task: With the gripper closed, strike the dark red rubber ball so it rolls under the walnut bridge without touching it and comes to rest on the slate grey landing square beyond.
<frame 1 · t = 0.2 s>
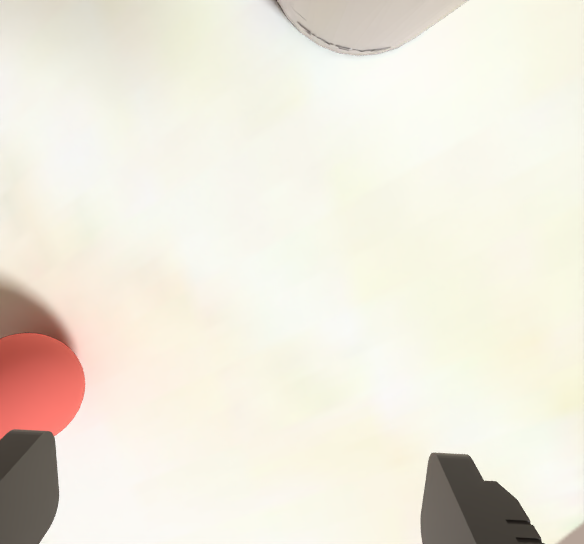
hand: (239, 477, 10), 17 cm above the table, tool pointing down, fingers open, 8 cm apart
ball: (24, 389, 26), on the table
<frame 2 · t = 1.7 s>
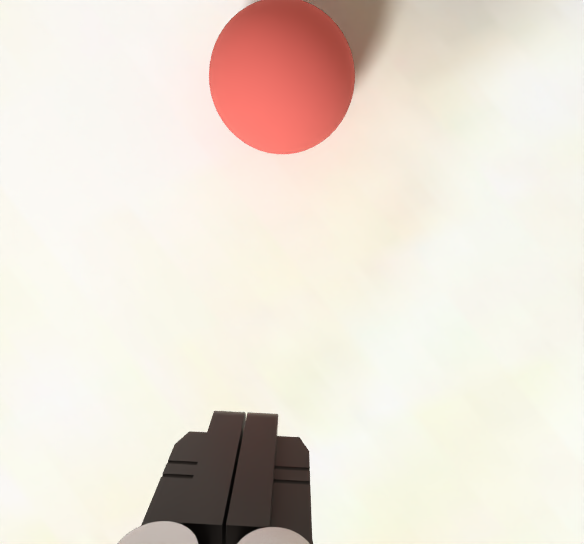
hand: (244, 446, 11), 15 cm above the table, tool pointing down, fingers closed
ball: (282, 80, 20), on the table
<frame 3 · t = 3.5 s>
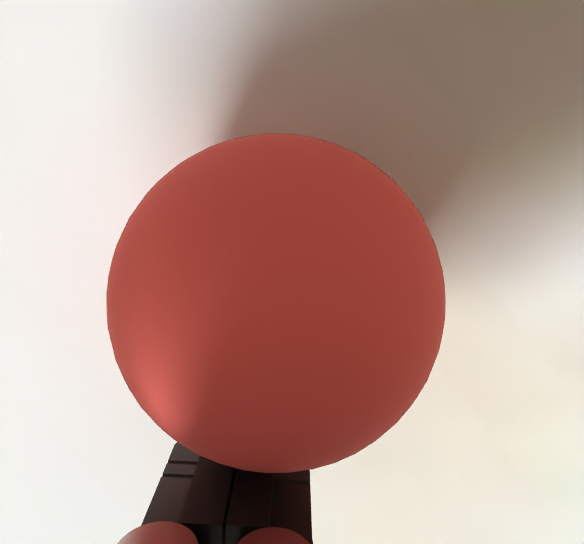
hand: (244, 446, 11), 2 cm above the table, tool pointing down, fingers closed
ball: (277, 300, 9), on the table, touching gripper
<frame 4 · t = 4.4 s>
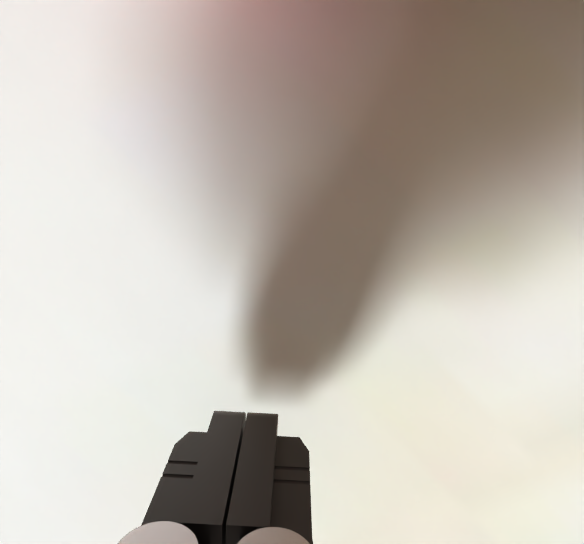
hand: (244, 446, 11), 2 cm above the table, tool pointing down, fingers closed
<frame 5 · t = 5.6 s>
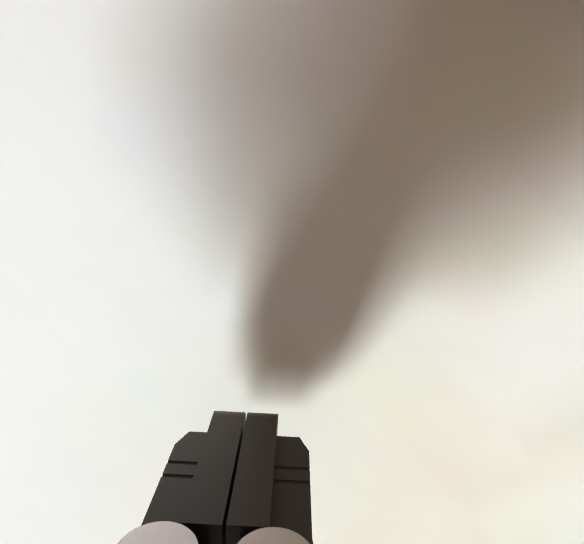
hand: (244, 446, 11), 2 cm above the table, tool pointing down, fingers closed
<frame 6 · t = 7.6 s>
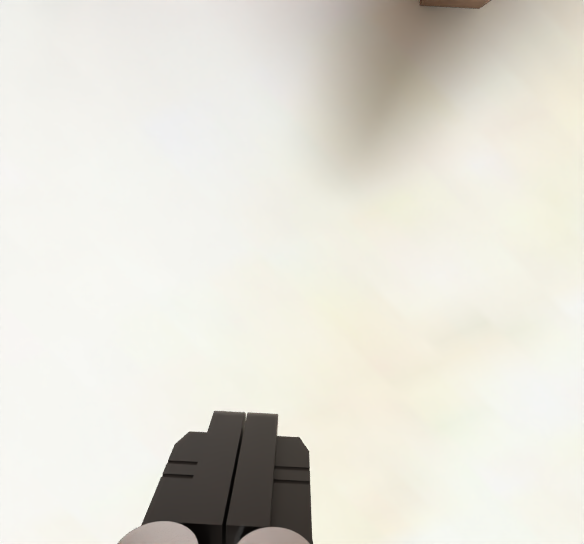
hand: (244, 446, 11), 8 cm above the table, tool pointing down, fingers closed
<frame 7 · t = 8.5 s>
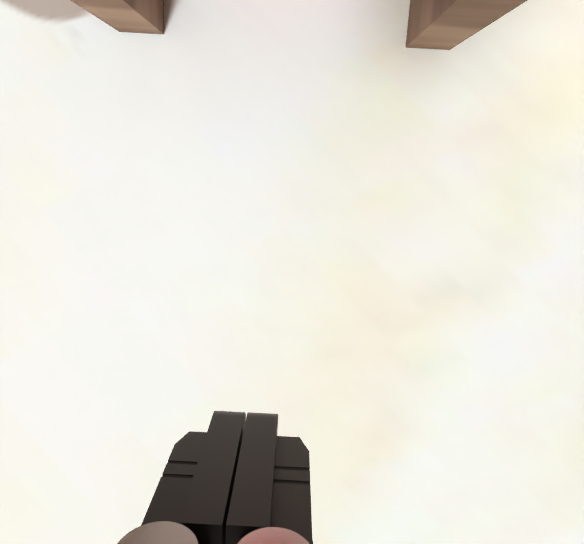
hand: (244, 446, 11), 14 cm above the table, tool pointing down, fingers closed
bridge: (286, 4, 22), on the table
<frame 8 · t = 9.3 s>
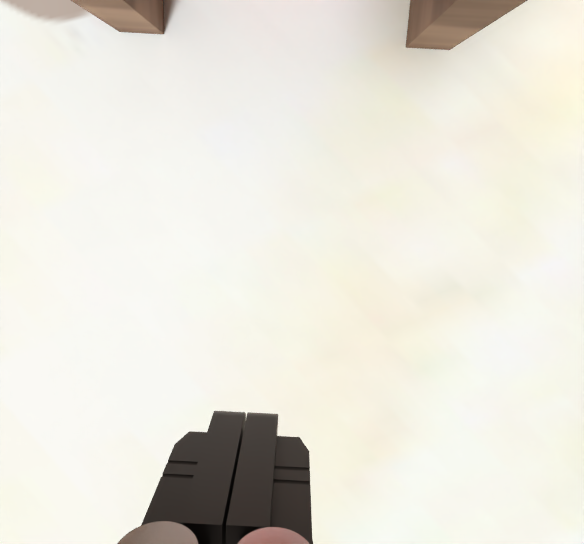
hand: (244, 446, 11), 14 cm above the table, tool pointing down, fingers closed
bridge: (286, 4, 22), on the table
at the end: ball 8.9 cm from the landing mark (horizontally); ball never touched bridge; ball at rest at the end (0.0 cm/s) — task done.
